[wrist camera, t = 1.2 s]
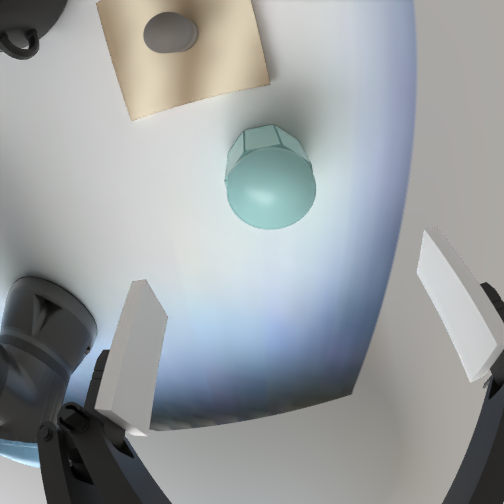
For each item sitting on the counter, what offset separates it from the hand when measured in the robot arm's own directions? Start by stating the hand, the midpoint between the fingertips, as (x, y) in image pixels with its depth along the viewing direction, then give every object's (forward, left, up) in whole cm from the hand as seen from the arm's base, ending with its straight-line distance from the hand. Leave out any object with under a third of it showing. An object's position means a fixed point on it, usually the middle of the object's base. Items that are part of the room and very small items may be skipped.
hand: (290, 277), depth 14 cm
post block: (-4, +12, -14) cm, 19 cm away
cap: (0, 0, -14) cm, 14 cm away
